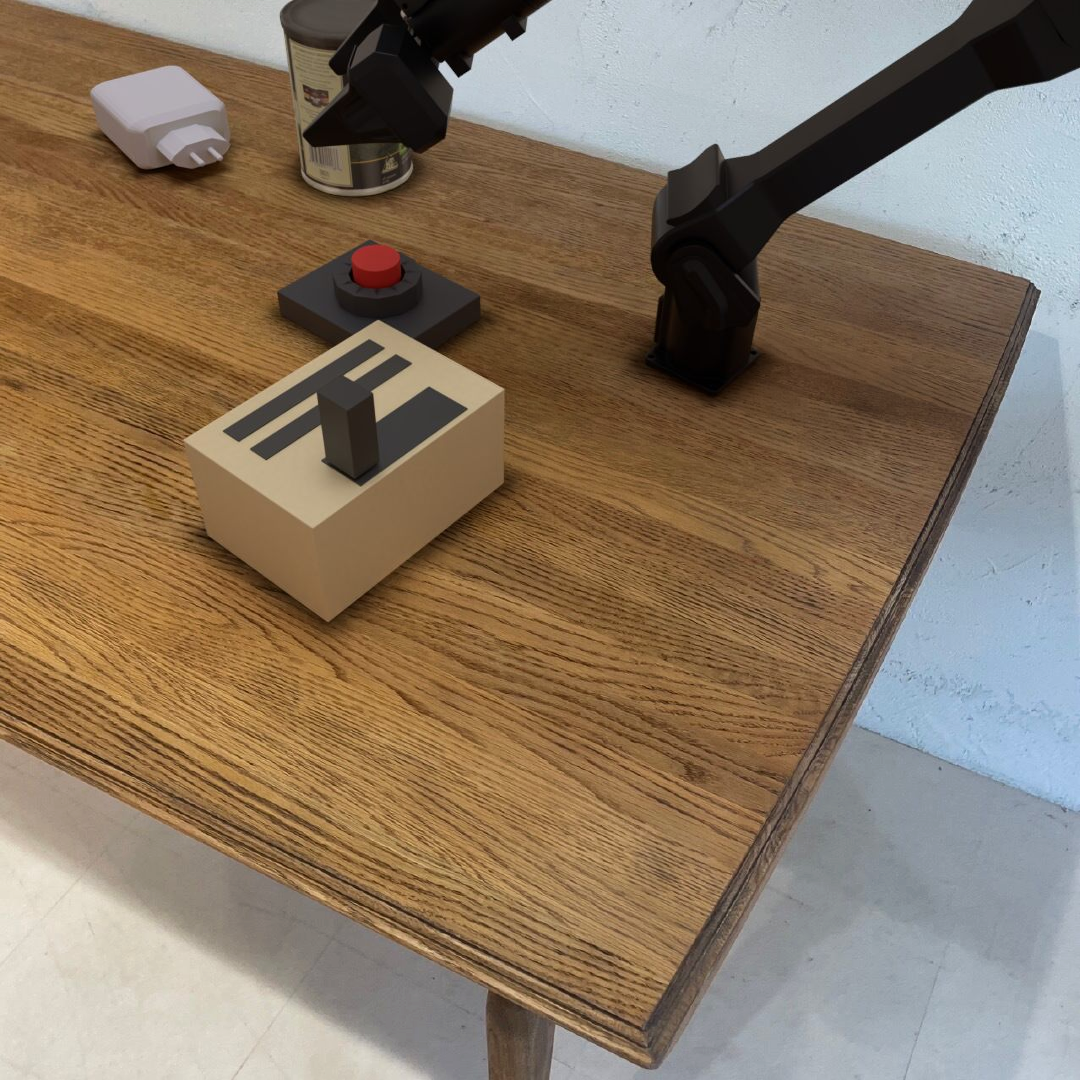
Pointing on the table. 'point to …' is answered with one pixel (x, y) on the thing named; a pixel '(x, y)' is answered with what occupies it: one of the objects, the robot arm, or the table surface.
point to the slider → (348, 426)
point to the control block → (379, 303)
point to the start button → (376, 266)
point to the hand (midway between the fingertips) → (320, 103)
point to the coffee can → (311, 40)
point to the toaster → (331, 494)
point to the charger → (162, 118)
